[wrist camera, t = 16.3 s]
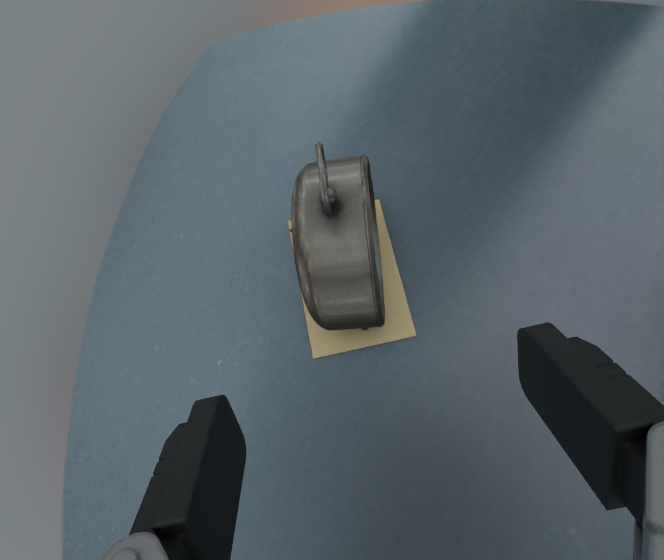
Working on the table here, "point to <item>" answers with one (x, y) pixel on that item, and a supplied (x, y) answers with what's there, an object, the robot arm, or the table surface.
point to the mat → (394, 302)
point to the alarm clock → (338, 243)
